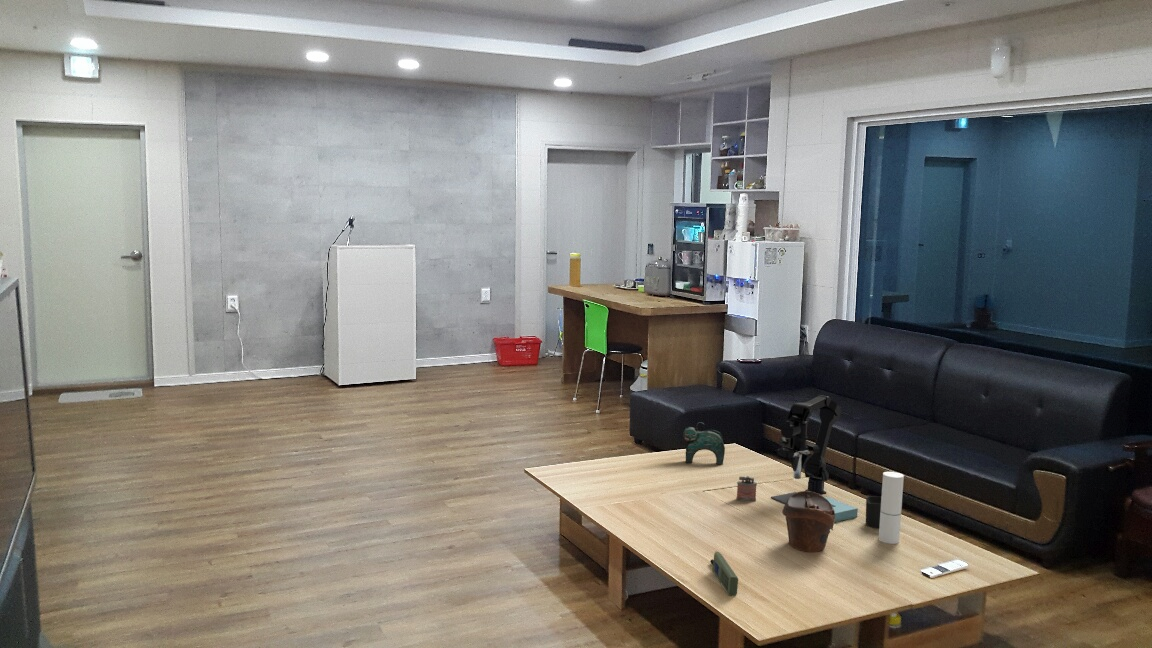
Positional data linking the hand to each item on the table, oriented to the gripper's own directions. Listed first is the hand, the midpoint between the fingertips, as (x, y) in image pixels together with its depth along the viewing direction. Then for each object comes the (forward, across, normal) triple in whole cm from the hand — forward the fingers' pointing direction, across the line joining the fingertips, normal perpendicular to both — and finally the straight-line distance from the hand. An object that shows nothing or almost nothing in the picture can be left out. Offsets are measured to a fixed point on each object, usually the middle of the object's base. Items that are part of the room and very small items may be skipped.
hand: (797, 470), depth 362 cm
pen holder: (+13, -8, +36) cm, 39 cm away
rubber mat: (+13, 0, 0) cm, 13 cm away
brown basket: (+13, +32, +39) cm, 52 cm away
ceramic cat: (+13, 0, -61) cm, 63 cm away
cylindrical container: (+13, +1, +49) cm, 50 cm away
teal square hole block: (+13, 0, +18) cm, 22 cm away
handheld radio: (+14, +78, +47) cm, 93 cm away
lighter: (+13, +18, -10) cm, 25 cm away
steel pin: (+3, 0, 0) cm, 3 cm away
